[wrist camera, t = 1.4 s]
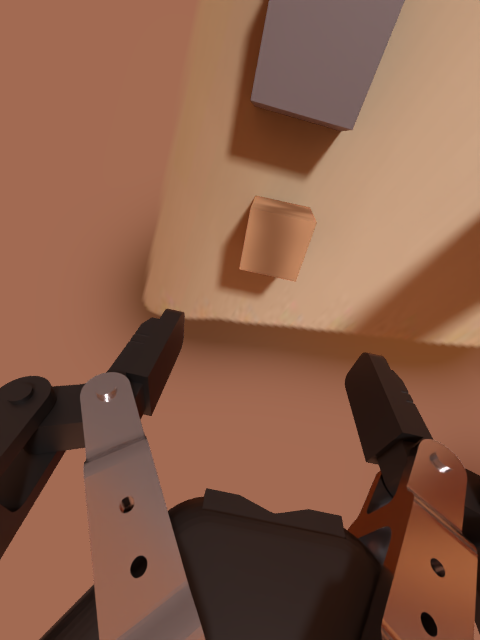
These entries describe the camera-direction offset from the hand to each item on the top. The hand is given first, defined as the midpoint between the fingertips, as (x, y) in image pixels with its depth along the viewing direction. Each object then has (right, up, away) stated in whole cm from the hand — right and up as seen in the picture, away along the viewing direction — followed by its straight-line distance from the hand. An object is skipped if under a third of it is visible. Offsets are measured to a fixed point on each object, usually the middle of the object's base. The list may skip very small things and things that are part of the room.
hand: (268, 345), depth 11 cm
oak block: (+2, +11, +15) cm, 18 cm away
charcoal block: (+4, +21, +7) cm, 22 cm away
